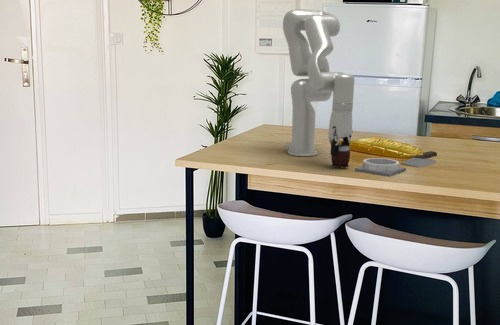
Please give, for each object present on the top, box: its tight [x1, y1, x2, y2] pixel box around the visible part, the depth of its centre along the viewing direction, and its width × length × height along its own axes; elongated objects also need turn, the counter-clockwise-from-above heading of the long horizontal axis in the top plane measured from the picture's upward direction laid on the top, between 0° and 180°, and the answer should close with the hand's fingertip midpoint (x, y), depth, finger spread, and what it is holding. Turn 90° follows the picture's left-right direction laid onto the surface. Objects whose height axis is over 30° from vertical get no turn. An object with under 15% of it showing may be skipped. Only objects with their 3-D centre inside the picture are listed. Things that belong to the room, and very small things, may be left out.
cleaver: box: [401, 150, 438, 168], centre depth 245 cm, size 29×10×2 cm, turn 145°
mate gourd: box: [330, 142, 351, 169], centre depth 228 cm, size 8×8×15 cm
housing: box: [354, 157, 407, 178], centre depth 225 cm, size 14×14×4 cm
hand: (339, 153), depth 228 cm, fingers closed on mate gourd, 7 cm apart
